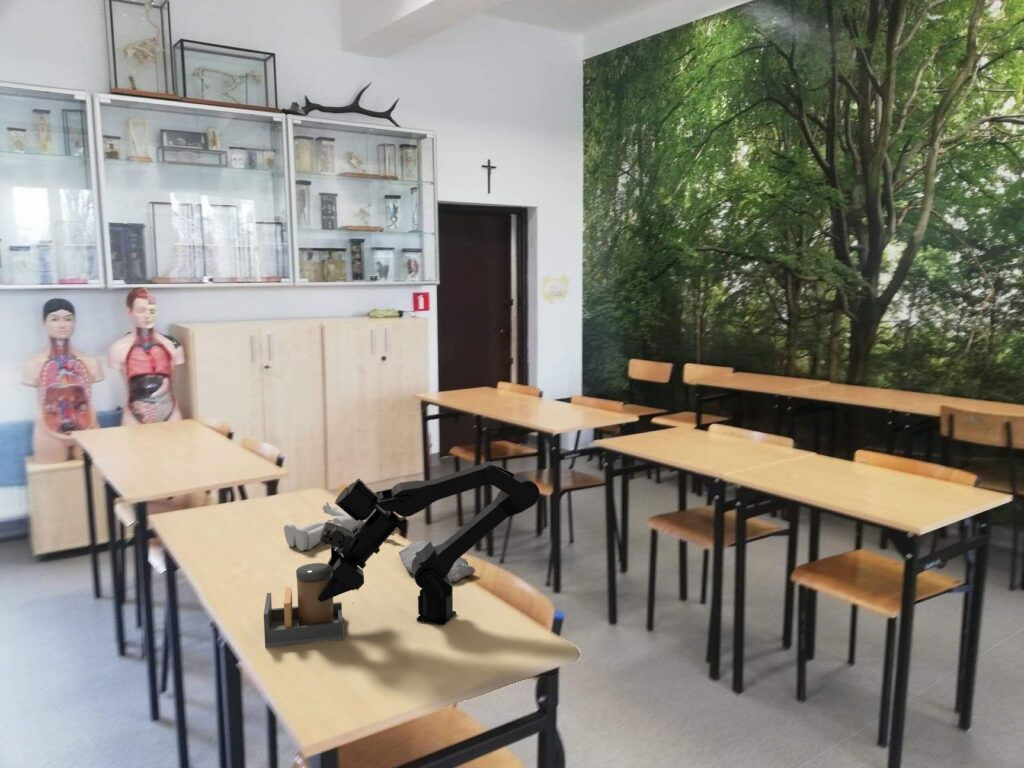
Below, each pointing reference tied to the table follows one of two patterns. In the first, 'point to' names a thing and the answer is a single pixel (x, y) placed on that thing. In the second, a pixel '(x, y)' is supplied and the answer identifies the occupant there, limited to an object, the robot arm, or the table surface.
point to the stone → (416, 546)
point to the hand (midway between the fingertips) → (319, 591)
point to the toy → (319, 528)
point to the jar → (313, 594)
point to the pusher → (288, 607)
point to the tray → (298, 627)
